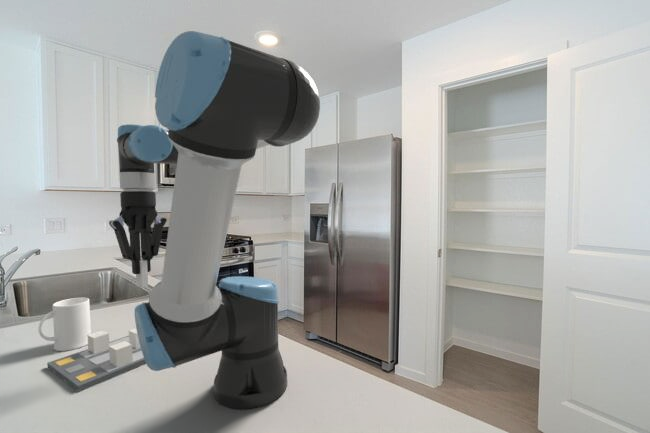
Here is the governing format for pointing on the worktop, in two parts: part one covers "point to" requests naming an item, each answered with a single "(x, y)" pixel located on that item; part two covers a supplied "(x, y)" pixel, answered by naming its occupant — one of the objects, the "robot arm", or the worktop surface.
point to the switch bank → (93, 366)
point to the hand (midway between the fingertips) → (142, 286)
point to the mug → (69, 324)
